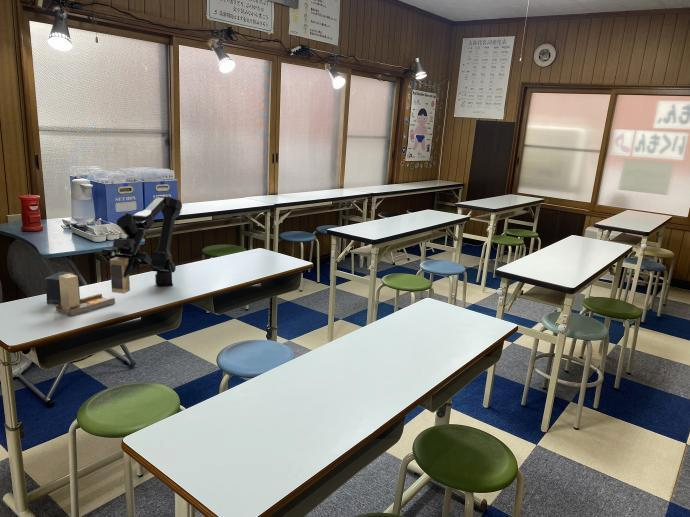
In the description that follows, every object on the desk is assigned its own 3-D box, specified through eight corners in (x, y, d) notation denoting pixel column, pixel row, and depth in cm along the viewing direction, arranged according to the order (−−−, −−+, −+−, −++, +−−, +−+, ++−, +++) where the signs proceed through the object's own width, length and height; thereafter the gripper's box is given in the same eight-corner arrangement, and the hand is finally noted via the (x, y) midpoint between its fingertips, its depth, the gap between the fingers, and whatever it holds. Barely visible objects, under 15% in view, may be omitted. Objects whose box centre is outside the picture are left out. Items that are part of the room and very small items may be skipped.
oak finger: (118, 289, 197) (116, 256, 193) (129, 290, 196) (128, 258, 193) (111, 292, 192) (109, 259, 189) (123, 294, 192) (121, 261, 188)
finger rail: (100, 298, 205) (98, 265, 202) (115, 303, 201) (113, 269, 197) (56, 311, 189) (52, 275, 186) (71, 316, 185) (68, 279, 182)
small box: (62, 305, 196) (60, 279, 193) (46, 304, 196) (43, 278, 193) (77, 296, 206) (75, 272, 203) (61, 295, 206) (59, 271, 203)
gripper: (101, 228, 194) (84, 262, 186) (146, 232, 191) (131, 267, 183) (114, 243, 203) (99, 277, 195) (158, 248, 201) (144, 282, 193)
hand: (117, 275), depth 191 cm, fingers closed on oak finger, 5 cm apart
